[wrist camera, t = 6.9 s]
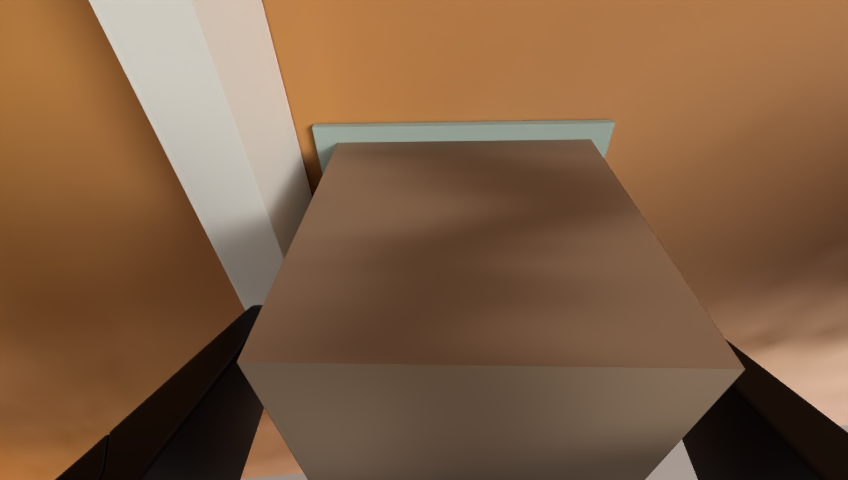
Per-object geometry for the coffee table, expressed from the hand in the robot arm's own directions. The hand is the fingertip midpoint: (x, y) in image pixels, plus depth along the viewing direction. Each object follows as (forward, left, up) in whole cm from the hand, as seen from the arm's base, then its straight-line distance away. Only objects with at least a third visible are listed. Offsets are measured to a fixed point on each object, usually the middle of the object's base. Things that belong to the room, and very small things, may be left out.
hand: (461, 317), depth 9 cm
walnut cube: (0, 0, -3) cm, 3 cm away
